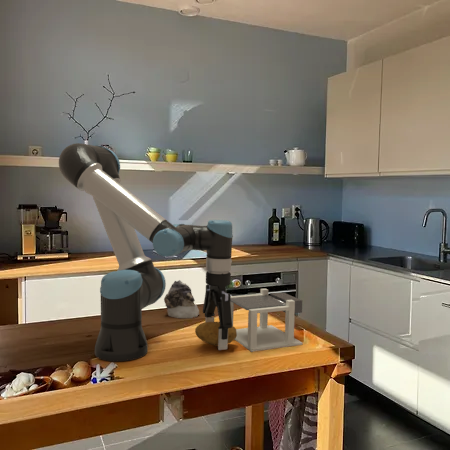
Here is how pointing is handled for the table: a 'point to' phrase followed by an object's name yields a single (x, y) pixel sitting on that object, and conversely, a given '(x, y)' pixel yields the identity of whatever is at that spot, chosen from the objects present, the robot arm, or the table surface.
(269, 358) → the table surface
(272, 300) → the flap
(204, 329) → the potato
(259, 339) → the frame
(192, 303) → the stone
